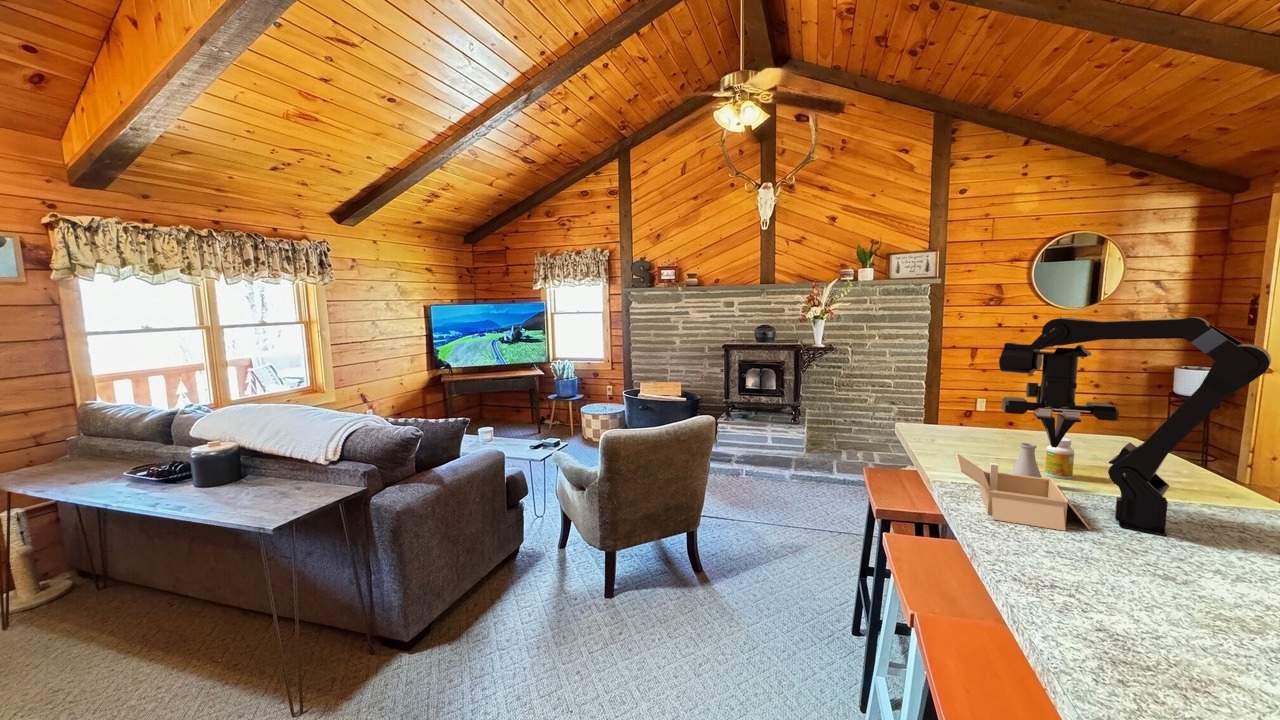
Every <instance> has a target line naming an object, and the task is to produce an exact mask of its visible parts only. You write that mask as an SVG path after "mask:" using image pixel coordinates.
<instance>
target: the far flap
mask: <svg viewBox="0 0 1280 720" xmlns="http://www.w3.org/2000/svg"><path fill="white" fill-rule="evenodd" d="M955 456H956V460H957V464H958V469H959V471H960V472H961V473H962V474H964V475H965V476H968V477H969V478H970V479H971V480H973V481H974V482H976V483H977V484H979V485H980V484H981V485H982V486H984V487H985V488H987V489H988V490H989V489H990V488H989V486H988V483H987V480H986V478H985V475H984V472H983V471H984V470H983V469H982V468H981V467H979V466H978V465H976V464H975V463H974V462H972V461H970V460H968V459H967V458H965V457H963V456H962V455H961V454H959V453H957V452H956V453H955Z"/></svg>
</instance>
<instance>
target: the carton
mask: <svg viewBox="0 0 1280 720" xmlns="http://www.w3.org/2000/svg"><path fill="white" fill-rule="evenodd" d="M983 472H984V475H985V478H986V480H987V483H988V486H989V476H990V470H989V471H987V470H983ZM979 485H980V486H979V487H980V488H979V492H980V495H981V498H982V501H983V505H984V506H985V510H986V513H987V515H988V516H989V515H991V516H992V520H993V521H1000V522H1006V523H1013V524H1018V525H1023V526H1025V525H1026V526H1032V527H1038V528H1042V529H1043V528H1045V529H1051V530H1057V531H1063V532H1064V531H1066V525H1067V515H1068V514H1067V513H1068V512H1067V511H1068V505H1069V507H1070V508H1071V509H1072V511H1073V512H1074V513H1075V514H1076V515H1077V517H1078V519H1080V520H1081V522H1082V523H1083V524H1084V525H1085V527H1086V528H1087V529H1088V530H1091V528H1090V526H1089V524H1088V523H1086V521H1085V520H1084V518H1083V517H1082V516H1081V514H1080V513H1079V512H1078V510H1077V509H1076V508H1075V506H1074V505H1073V504H1072V502H1071V501H1070V500H1069V499H1068V498H1067V496H1066V495H1065V493H1064V492H1063V491H1062V490H1061V489H1060V488H1059V486H1058V485H1057V483H1056V482H1055V480H1053V479H1052V478H1047V477H1046V478H1045V477H1042V478H1039V477H1031V476H1023V475H1014V474H1009V473H1005V472H998V482H997V490H992V491H991V490H990V489H989V490H988V489H987V488H985V487H984V486H982V485H981V484H979ZM989 488H990V487H989Z"/></svg>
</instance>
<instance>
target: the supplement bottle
mask: <svg viewBox="0 0 1280 720" xmlns="http://www.w3.org/2000/svg"><path fill="white" fill-rule="evenodd" d="M1071 446H1072V439H1070V438H1069V437H1068V438H1067V437H1065V436H1064V437H1063V438H1062V440H1061V442H1060V443H1059V445H1058V446H1057V448H1055V447H1051V445H1050V444H1049V445H1048V446H1047V447H1046V453H1045V454H1046V455H1045V466H1044V467H1045V468H1044V473H1045V475H1047V476H1048V477H1051V478H1056V479H1062V480H1068V479H1072V478H1073V473H1074V461H1075V450H1074V448H1072V447H1071Z"/></svg>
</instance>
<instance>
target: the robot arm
mask: <svg viewBox="0 0 1280 720" xmlns="http://www.w3.org/2000/svg"><path fill="white" fill-rule="evenodd" d="M1151 339H1152V340H1156V339H1157V340H1158V339H1159V340H1161V339H1162V340H1163V339H1164V340H1165V339H1167V340H1168V339H1184V340H1186V341H1187V342H1189V343H1190V344H1192V345H1193V346H1195V347H1196V348H1197V349H1198V350H1199V351H1201V352H1202V353H1203V354H1205V355H1206V356H1208V357H1209V358H1211V359H1212V360H1214V361H1215V362H1214V363H1213V364H1212V366H1211V368H1210V369H1209V371H1208V372H1207V373H1206V374H1207V375H1206V376H1205V377H1204V379H1203V381H1202V382H1201V384H1200V386H1199V387H1198V388H1196V390H1195V391H1193V393H1192V394H1191V395H1189V397H1188V398H1187V399H1186V400H1185V401H1184V402H1183V403H1182V404H1180V407H1178V408H1177V409H1176V410H1175V411H1174V412H1173V413H1172V414H1171V415H1170V416H1169V417H1168V418H1167V419H1166V420H1165V421H1164V422H1163V424H1162V425H1161V426H1159V427H1158V428H1157V429H1156V430H1155V431H1154V433H1153V434H1151V436H1149V438H1147V440H1146V441H1143V442H1142V443H1141V444H1139V445H1137V446H1136V445H1135V444H1134V443H1132V442H1128V443H1127V444H1126V445H1124V446H1123V447H1122V449H1121V450H1120V451H1119V452H1118V453H1119V454H1117V455H1115V456H1114V457H1113V458H1111V459H1110V460H1109V461H1108V464H1109V465H1110V467H1109V469H1108V471H1107V472H1108V473H1107V474H1108V477H1109V479H1110V480H1111V482H1112V483H1113V484H1115V485H1116V486H1117V487H1118V488H1119V492H1120V497H1119V496H1118V497H1116V498H1115V509H1114V518H1115V521H1116V522H1118V526H1119V527H1121V528H1124V529H1129V530H1135V531H1139V532H1144V533H1150V534H1154V535H1160V536H1164V537H1166V536H1168V532H1167V530H1166V526H1167V523H1166V522H1167V515H1168V503H1169V502H1168V499H1167V498H1166V497H1165V496H1164V495H1165V494H1166V493H1167V491H1168V490H1169V489H1170V484H1169V483H1167V482H1166V480H1164V479H1163V478H1162V477H1160V476H1159V474H1157V472H1158V470H1160V467H1161V466H1162V464H1163V462H1164V461H1165V460H1166V457H1167V456H1168V454H1169V453H1170V452H1172V450H1173V449H1175V448H1176V447H1177V446H1178V445H1179V444H1180V443H1181V442H1182V441H1183V440H1184V439H1185V438H1186V437H1187V436H1188V435H1189V434H1190V433H1191V432H1192V431H1193V430H1194V429H1195V428H1196V427H1197V426H1198V425H1199V424H1200V423H1201V422H1203V421H1204V419H1206V418H1207V417H1208V416H1209V415H1210V414H1211V413H1212V412H1213V411H1214V410H1215V409H1216V408H1217V407H1218V406H1219V405H1220V404H1221V403H1222V402H1224V400H1225V399H1227V398H1228V397H1230V396H1231V395H1233V394H1234V393H1236V392H1238V391H1239V390H1241V389H1242V388H1244V387H1246V386H1247V385H1248V384H1250V383H1251V382H1253V381H1255V380H1257V379H1258V378H1260V376H1262V375H1264V374H1265V373H1266V372H1267V371H1268V369H1269V368H1270V366H1271V363H1272V357H1271V355H1270V353H1269V352H1268V351H1267V350H1266V349H1265V348H1263V347H1261V346H1259V345H1255V344H1251V343H1242V342H1241V341H1240V340H1238V339H1237V338H1234V337H1233V336H1231V335H1230V334H1227V332H1226V333H1225V332H1224V331H1223V330H1221V329H1219V328H1217V327H1215V326H1214V325H1213V324H1211V323H1209V321H1208V320H1206V319H1205V318H1202V317H1200V316H1190V317H1186V318H1166V319H1163V318H1162V319H1159V318H1158V319H1136V320H1135V319H1134V320H1133V319H1132V320H1109V321H1108V320H1107V321H1104V320H1095V319H1088V318H1087V319H1085V318H1078V317H1077V318H1075V317H1060V318H1059V317H1058V318H1053V319H1051V320H1049V321H1047V322H1046V323H1045V324H1044V325H1043V327H1042V329H1041V334H1040V335H1039V336H1038V337H1037V338H1036V339H1035V340H1034V341H1033V342H1032V343H1018V342H1017V343H1016V342H1005V343H1004V344H1003V349H1002V350H1001V354H1000V357H999V361H998V363H999V364H998V366H999V370H1000V371H1001V372H1002V373H1012V374H1028V375H1033V374H1034V373H1035V372H1036V371H1039V370H1040V369H1041V367H1042V370H1041V379H1040V380H1041V382H1040V385H1039V383H1038V382H1027V383H1026V389H1025V391H1026V392H1025V393H1026V394H1025V395H1026V397H1027V398H1033V399H1036V402H1035V401H1034V402H1033V401H1032V402H1031V401H1028V400H1026V398H1024V397H1014V396H1013V397H1011V396H1005V397H1003V399H1002V400H1001V409H1002V411H1003V412H1004V413H1005V414H1015V415H1024V414H1026V413H1027V412H1028V411H1032V415H1033V416H1034V417H1035V418H1036V419H1037V420H1040V421H1041V423H1042V425H1043V426H1044V429H1045V432H1046V435H1047V438H1048V441H1049V445H1051V447H1055V448H1057V446H1058V445H1059V443H1060V442H1061V440H1062V438H1063V437H1064V438H1065V436H1066V434H1067V432H1068V431H1069V430H1070V429H1071V428H1072V427H1073V426H1074V425H1075V423H1082V419H1081V418H1080V416H1081V415H1088V416H1089V415H1090V416H1091V415H1092V416H1093V417H1095V418H1096V419H1097V420H1098V421H1110V422H1111V421H1113V422H1116V421H1119V416H1120V414H1119V413H1120V411H1119V409H1118V408H1117V407H1116V406H1114V405H1113V404H1110V403H1109V402H1097V401H1096V402H1095V401H1087V402H1086V404H1085V405H1079V404H1076V392H1077V391H1076V390H1077V388H1078V387H1077V386H1078V383H1077V381H1078V380H1077V377H1078V364H1079V358H1088V357H1091V356H1092V352H1090V351H1089V350H1087V349H1086V348H1085V346H1084V345H1083V344H1081V343H1086V342H1094V341H1101V340H1102V341H1103V340H1151ZM1071 344H1072V345H1073V344H1078V345H1077V346H1075V347H1057V348H1056V349H1055V351H1044V350H1046V349H1050V348H1053V347H1055V346H1069V345H1071ZM1041 350H1043V351H1041ZM1053 413H1056V418H1055V417H1054V416H1053Z"/></svg>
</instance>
